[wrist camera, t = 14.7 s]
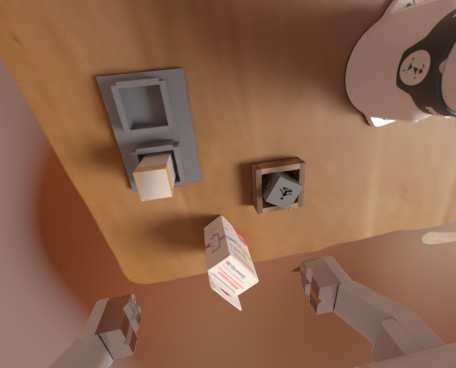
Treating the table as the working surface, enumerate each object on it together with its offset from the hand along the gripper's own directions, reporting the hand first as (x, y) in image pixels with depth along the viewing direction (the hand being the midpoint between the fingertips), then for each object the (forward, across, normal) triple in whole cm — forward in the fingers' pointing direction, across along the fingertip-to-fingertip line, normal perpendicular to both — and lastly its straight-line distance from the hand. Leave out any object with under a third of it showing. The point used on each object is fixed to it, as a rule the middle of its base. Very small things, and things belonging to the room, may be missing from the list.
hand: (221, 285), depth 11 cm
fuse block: (+29, +7, -2) cm, 30 cm away
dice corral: (+29, -13, +10) cm, 33 cm away
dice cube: (+29, -13, +10) cm, 34 cm away
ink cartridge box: (+29, -2, +20) cm, 36 cm away
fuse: (+28, +7, +2) cm, 29 cm away
